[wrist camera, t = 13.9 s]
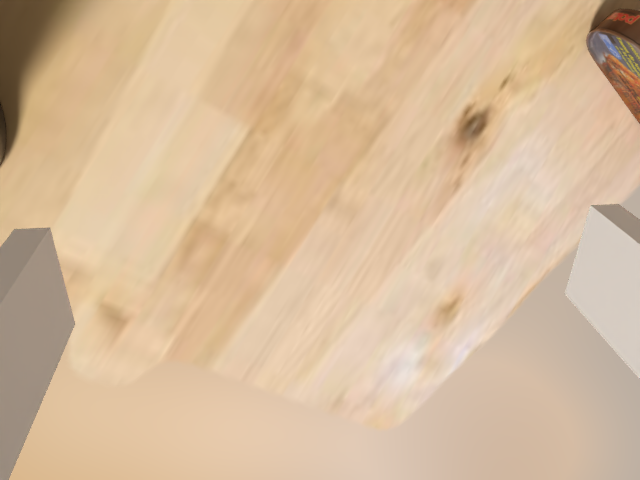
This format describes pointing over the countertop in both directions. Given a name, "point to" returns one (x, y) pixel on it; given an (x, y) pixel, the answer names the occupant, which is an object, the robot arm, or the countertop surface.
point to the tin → (619, 54)
